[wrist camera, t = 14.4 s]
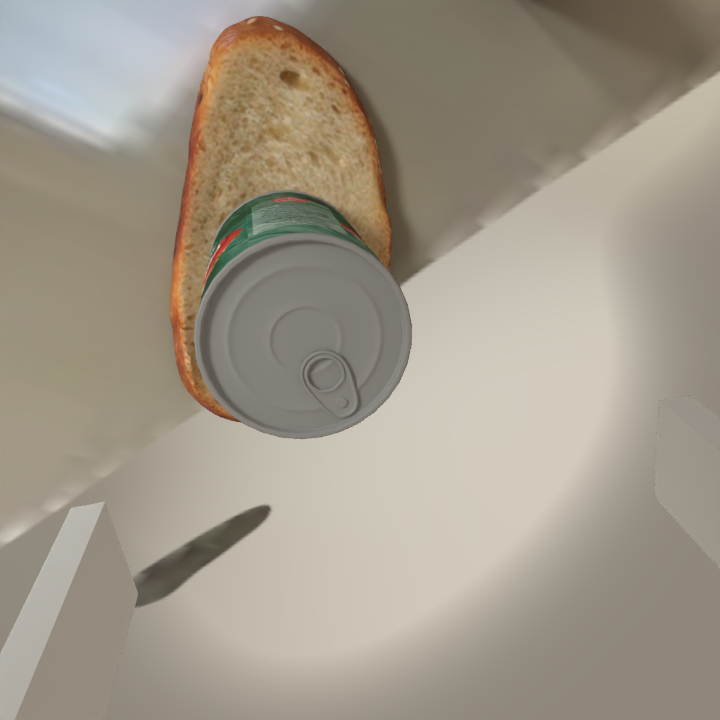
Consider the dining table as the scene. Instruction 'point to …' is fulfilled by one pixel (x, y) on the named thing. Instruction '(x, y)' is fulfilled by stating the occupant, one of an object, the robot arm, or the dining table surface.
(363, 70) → the dining table surface
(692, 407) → the robot arm
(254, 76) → the bread slice
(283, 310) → the canned tomato
